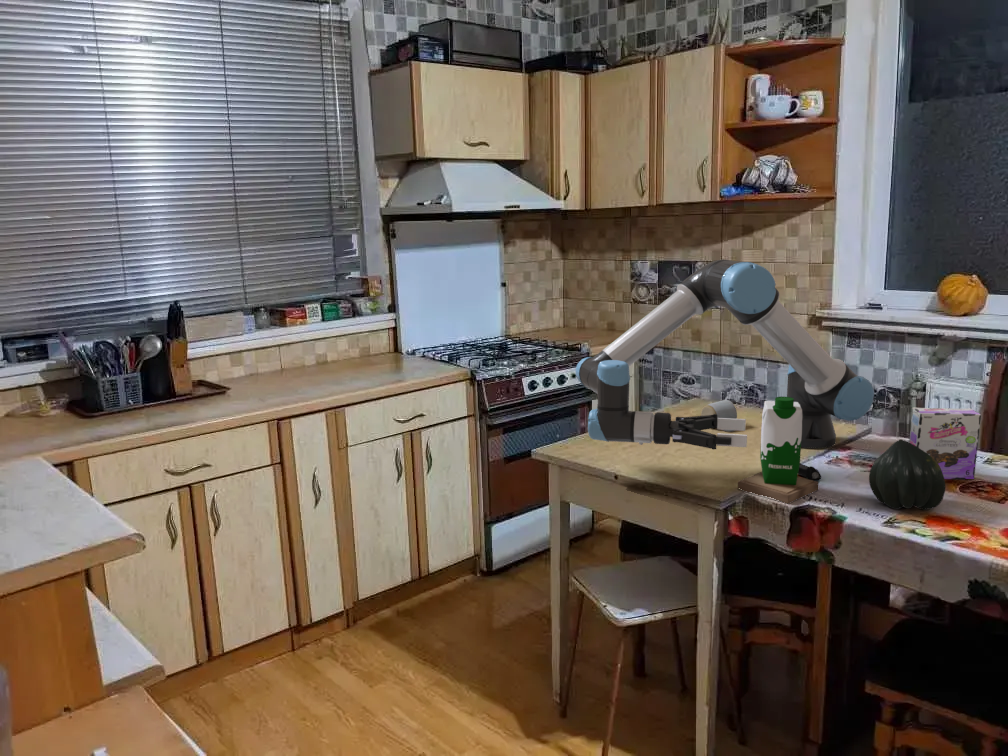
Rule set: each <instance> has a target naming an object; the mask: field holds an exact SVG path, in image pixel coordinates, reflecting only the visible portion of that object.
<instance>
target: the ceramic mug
mask: <svg viewBox="0 0 1008 756" xmlns="http://www.w3.org/2000/svg"><path fill="white" fill-rule="evenodd" d="M736 408H737V407H736V406H735V404H734V403H733V402H732V401H731V400H728V399H722V400H720V401H715V402H711V403H708V404H706V405H705V406H703V407H702V408H701V412H700V414H701V415H700V416H706V415H713V414H717V419H718V418H733V419H738V412H737V409H736ZM723 431H724V432H728V433H731V432H732V433H733V432H735V431H736V430H723Z"/></svg>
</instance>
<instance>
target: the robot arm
mask: <svg viewBox="0 0 1008 756" xmlns="http://www.w3.org/2000/svg"><path fill="white" fill-rule="evenodd" d="M776 285H777V284H776V281H775V278H774V276H773V275H772V273H771V272H770V271H769V270H768V269H767V268H765V267H764V266H762V265H760V264H758V263H755V262H751V261H738V260H730V259H716V260H714V261H711V262H709V263H706V264H705V265H703V266H702V267H700V268H698V269H697V270H696V271H694V272H693V273H692V274H690V275H689V276H688V277H686V278H685V279H683V281H681V282H680V283H679V284H678V285H677V286H676V287H677V288H676V291H674V293H672V294H671V295H670V296H669V297H668V298H667V299H665V300H664V301H663V302H661V303H660V304H658V306H656V307H655V308H654V309H652V310H651V311H650V312H648V313H647V314H646V315H645V316H644V317H643V318H641V319H640V320H638V321H637V322H636V323H634V325H632V326H631V327H630V328H628V329H627V330H626V331H625V332H623V333H622V334H621V335H619V337H617V338H616V339H615V340H613V342H611V343H610V344H608V345H607V346H605V348H603V349H602V350H600V351H599V352H598V353H596V355H594V356H593V357H592V356H587V357H584V358H581V360H580V361H578V362H577V364H576V367H575V376H576V379H577V381H578V382H579V383H580V384H581V385H582V386H584V387H585V388H586V389H589V390H590V391H593V392H594V393H595V394H597V406H596V408H594V409H591V410H590V411H589V414H588V418H587V419H588V421H587V422H588V424H587V433H588V436H589V438H590V439H592V440H596V441H601V442H602V441H603V442H608V443H609V442H616V443H617V442H618V443H619V442H620V443H638V444H639V445H640V446H642V445H644V444H651V443H652V442H653V444H656V445H669V444H670V442H671V441H672V442H673V443H682V444H687V445H692V446H697V447H702V448H706V449H711V450H717V446H719V447H735V448H747V446H748V445H747V444H748V435H747V434H737V433H719V432H717V433H716V434H714V433H710V432H708V431H705V430H710V429H711V430H712V429H716V430H722V431H724V430H735V431H742V432H745V431H746V425H747V424H746V418H737V419H733V418H718V419H717V414H713V415H706V416H701V415H695V416H694V415H693V416H675V420H672V414H671V413H669V412H655V413H653V411H640V410H638V411H637V410H635V411H634V410H629V408H630V402H629V401H630V380H631V375H630V366H631V365H633V364H634V363H635V362H637V361H638V360H639V359H640V358H642V357H644V355H645V354H647V353H648V352H649V351H650V350H652V349H653V348H654V347H656V346H657V345H658V344H660V342H662V341H663V340H664V339H666V338H667V337H669V336H670V335H671V334H672V333H674V332H675V331H676V330H677V329H679V328H680V327H681V326H682V325H683V324H684V323H686V322H687V321H688V320H690V319H692V317H694V316H695V315H700V316H701V315H703V314H704V313H705V312H706V311H708V310H710V309H712V308H714V307H717V306H718V307H722V308H724V309H727V311H729V312H730V314H731V315H733V316H734V318H736V320H738V321H739V323H740V324H742V325H744V326H749V325H751V326H752V327H753V328H754V329H755V330H756V332H758V333H759V334H760V336H761V337H763V339H764V340H766V341H767V343H768V344H769V345H770V346H771V347H772V348H773V349H774V350H775V351H776V352H777V353H778V354H779V355H780V356H781V357H782V359H783V360H784V361H786V362H787V364H788V371H787V387H786V397H791V398H793V399H794V402H798V403H799V404H800V406H801V409H802V415H803V417H802V437H801V447H802V448H803V449H826V448H825V447H827V448H831V447H833V446H835V445H836V443H837V442H836V438H837V434H836V431H835V427H834V423H833V420H832V416H833V417H835V418H837V419H839V420H845V421H850V422H851V421H856V420H859V419H860V418H862V417H863V416H864V415H866V414H867V413H868V412H869V410H870V409H871V407H872V406H873V402H874V396H875V389H874V386H873V384H872V382H871V381H870V380H869V379H868V378H866V377H864V376H862V375H857V373H855V372H854V371H852V369H851V368H850V367H849V366H848V365H847V364H846V363H845V362H844V361H843V360H842V359H840V358H833V357H831V356H830V354H828V352H827V351H826V350H825V349H824V348H823V347H822V345H820V344H819V343H818V342H817V340H815V339H814V337H813V336H812V335H811V334H810V333H809V332H808V330H807V329H805V327H803V325H801V323H800V322H799V320H797V319H796V318H795V316H793V315H792V314H791V312H790V311H788V309H787V308H786V307H785V306H784V305H783V304H782V303H781V302H780V292H779V290H778V289H777V288H776ZM671 438H672V440H671ZM835 442H836V443H835ZM834 444H835V445H834ZM830 446H831V447H830ZM802 448H801V449H802Z"/></svg>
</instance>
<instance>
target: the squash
mask: <svg viewBox="0 0 1008 756" xmlns="http://www.w3.org/2000/svg"><path fill="white" fill-rule="evenodd" d="M868 476H869V477H868V482H869V486H870V489H871V491H872V493H873V495H874V497H875V498H876V500H878V501H879V502H880V503H882V504H884V505H886V506H888V507H889V508H892V509H895V510H897V509H898V510H899V509H902V508H903V507H904V508H905V509H910V508H912V507H913V506H914V507H915V508H918V509H920V510H932V509H935V508H936V507H938V506H939V505H940V503H941V502H942V501H943V499H944V497H945V493H946V481H945V480H946V479H944V476H943V473H942V470H941V468H940V466H939V464H938V463H937V462H936V460H935V459H934V458H933V457H931V456H930V455H929V454H927V453H926V452H924V451H923V450H921V449H920V448H918V447H916V446H915V445H913V444H911V443H909V441H906V440H903V438H902V439H900V438H899V440H897V441H895V442H894V443H893V444H891V445H890V446H889V447H888V448H887V449H886V450H885V451H883V452H882V454H880V455H879V456H878V457H877V459H876V460H874V462H873V464H872V466H871V467H870V471H869V475H868Z"/></svg>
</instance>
